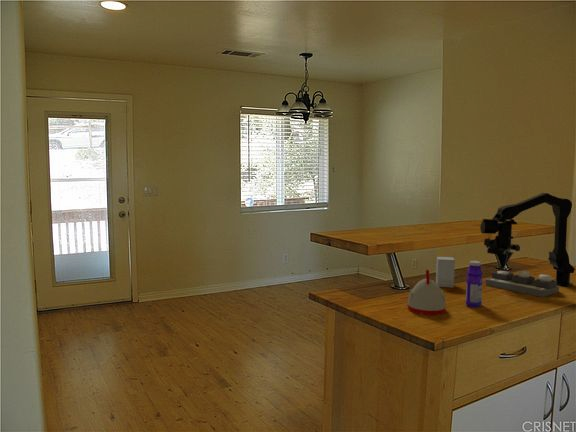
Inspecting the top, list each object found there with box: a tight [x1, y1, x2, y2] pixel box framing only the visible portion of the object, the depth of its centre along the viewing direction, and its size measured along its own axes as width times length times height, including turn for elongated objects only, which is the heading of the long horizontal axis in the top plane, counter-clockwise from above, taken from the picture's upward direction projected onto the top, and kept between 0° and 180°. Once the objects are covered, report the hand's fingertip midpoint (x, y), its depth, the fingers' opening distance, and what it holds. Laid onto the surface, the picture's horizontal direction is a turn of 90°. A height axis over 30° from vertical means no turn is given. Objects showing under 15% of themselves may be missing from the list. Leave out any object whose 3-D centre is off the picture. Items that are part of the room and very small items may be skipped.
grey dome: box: [407, 269, 447, 316], centre depth 185 cm, size 14×14×15 cm
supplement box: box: [435, 256, 456, 288], centre depth 222 cm, size 7×7×13 cm
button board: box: [485, 271, 560, 298], centre depth 218 cm, size 14×26×5 cm, turn 38°
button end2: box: [538, 273, 553, 283], centre depth 211 cm, size 5×5×2 cm
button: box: [496, 270, 509, 275], centre depth 226 cm, size 5×5×2 cm
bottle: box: [465, 260, 484, 308], centre depth 190 cm, size 7×6×17 cm
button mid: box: [516, 270, 531, 279], centre depth 218 cm, size 5×5×2 cm
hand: (502, 267), depth 226 cm, fingers closed
